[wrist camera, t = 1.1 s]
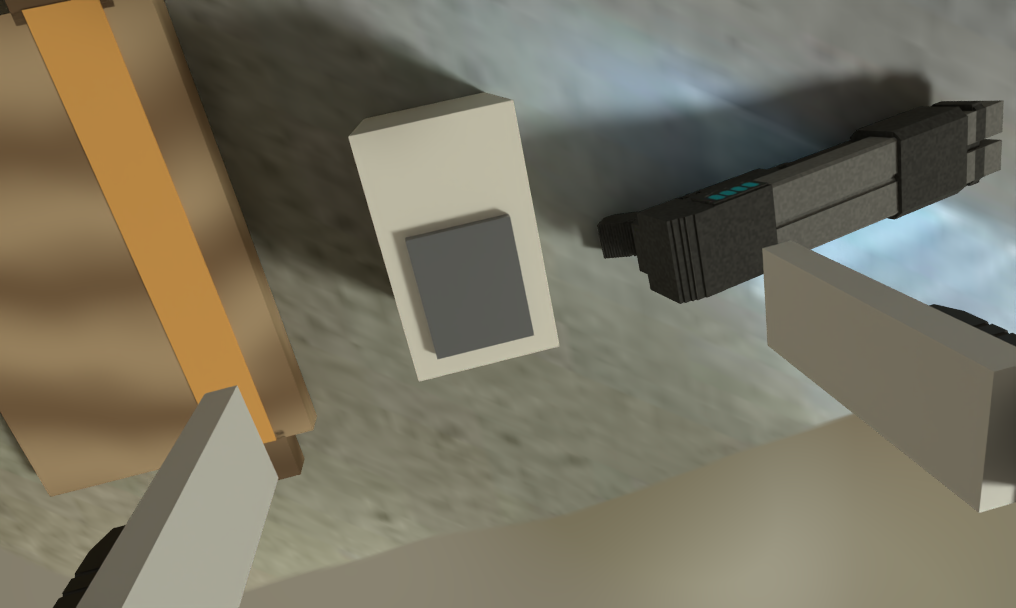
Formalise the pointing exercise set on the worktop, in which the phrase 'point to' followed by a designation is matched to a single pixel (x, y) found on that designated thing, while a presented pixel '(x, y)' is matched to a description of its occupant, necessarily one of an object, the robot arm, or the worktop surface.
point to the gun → (808, 198)
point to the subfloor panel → (124, 252)
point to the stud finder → (457, 231)
